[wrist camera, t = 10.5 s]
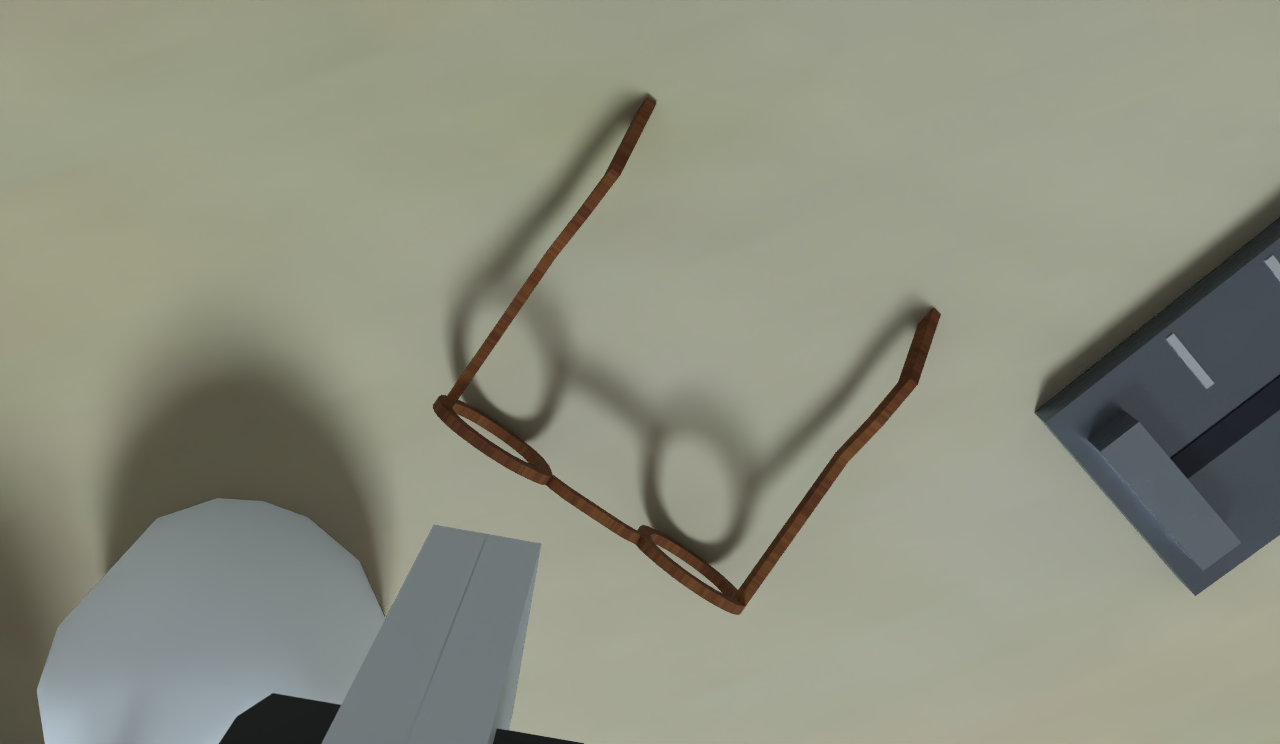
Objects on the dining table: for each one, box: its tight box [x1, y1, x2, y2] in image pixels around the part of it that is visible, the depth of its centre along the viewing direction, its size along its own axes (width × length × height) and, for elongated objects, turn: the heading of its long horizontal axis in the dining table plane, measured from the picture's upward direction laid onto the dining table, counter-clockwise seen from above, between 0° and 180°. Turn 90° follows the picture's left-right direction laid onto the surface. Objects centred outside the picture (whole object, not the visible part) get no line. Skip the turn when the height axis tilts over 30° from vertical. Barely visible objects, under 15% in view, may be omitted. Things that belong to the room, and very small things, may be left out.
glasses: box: [433, 98, 941, 615], centre depth 37 cm, size 13×13×5 cm
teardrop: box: [37, 498, 385, 744], centre depth 37 cm, size 11×11×12 cm
